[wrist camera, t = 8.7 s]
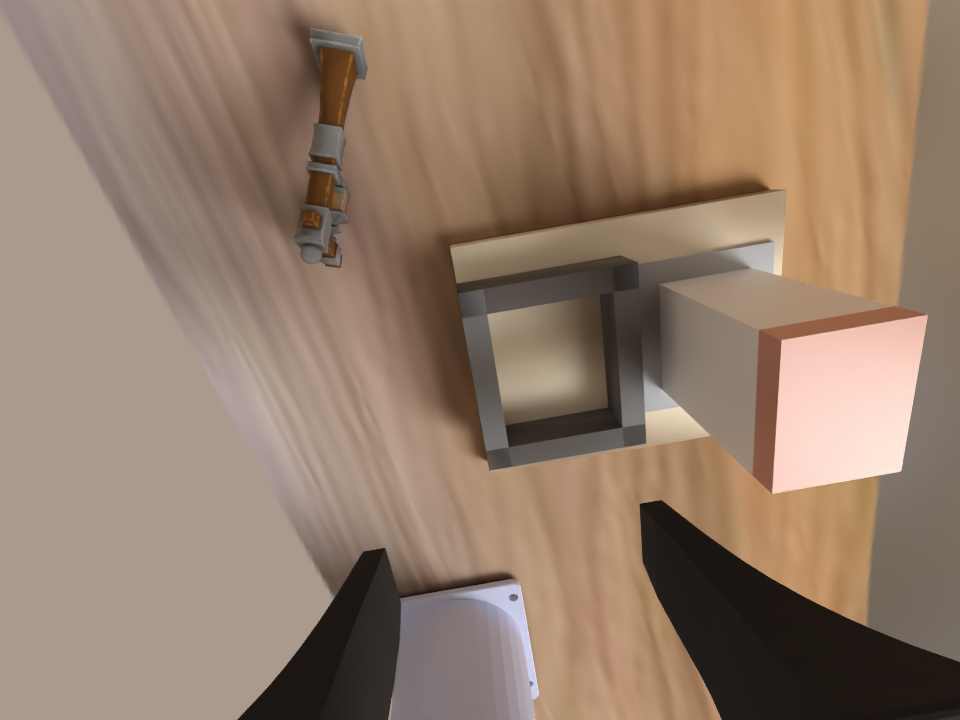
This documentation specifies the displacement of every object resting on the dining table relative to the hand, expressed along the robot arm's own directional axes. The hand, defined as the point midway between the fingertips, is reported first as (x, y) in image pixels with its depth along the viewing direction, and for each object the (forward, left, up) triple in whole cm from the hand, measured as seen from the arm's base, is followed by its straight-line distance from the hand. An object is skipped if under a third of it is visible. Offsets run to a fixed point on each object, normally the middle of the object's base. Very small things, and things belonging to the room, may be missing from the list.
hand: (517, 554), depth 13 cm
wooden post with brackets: (+11, +4, -11) cm, 16 cm away
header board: (+2, -6, -10) cm, 12 cm away
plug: (+2, -10, -9) cm, 14 cm away
